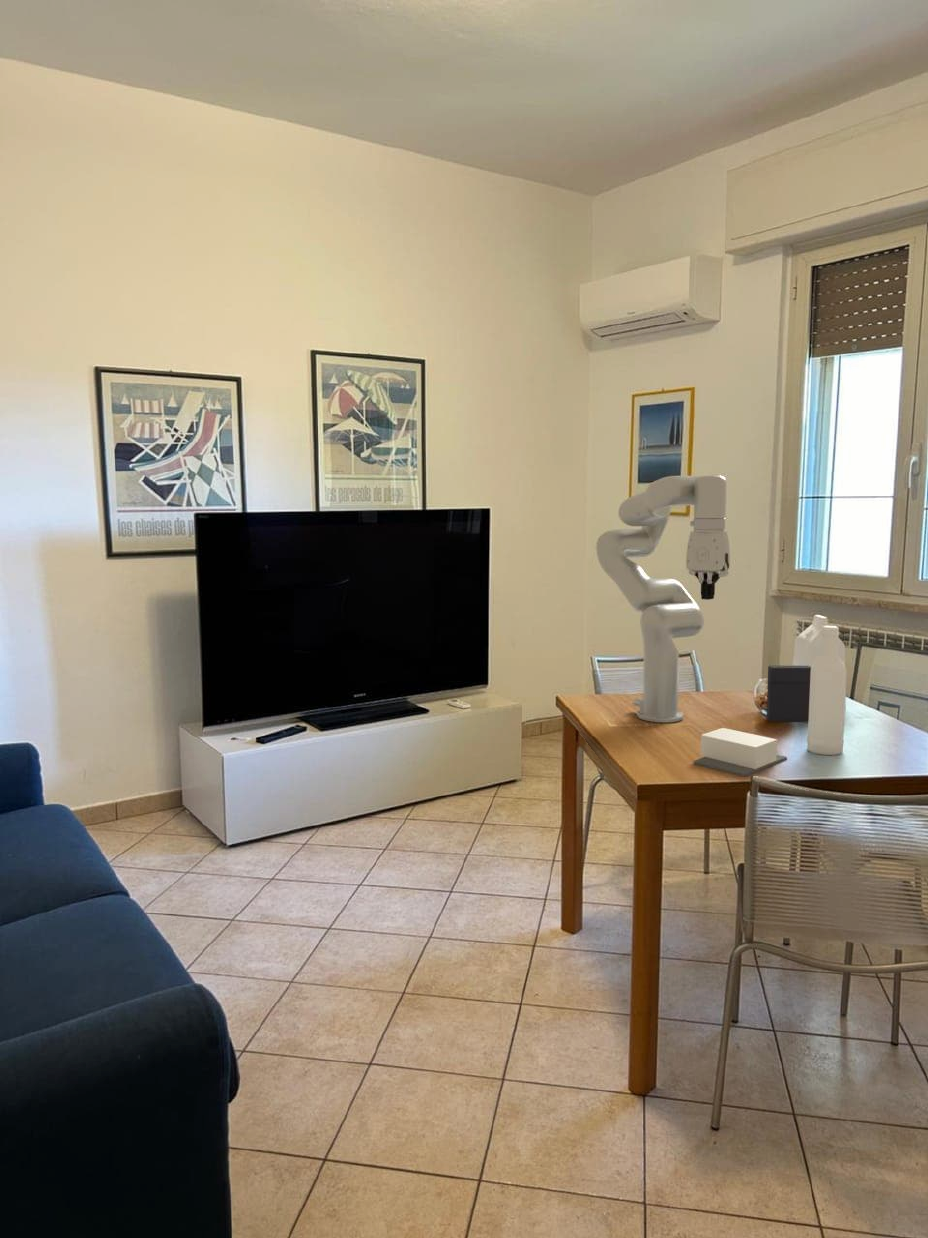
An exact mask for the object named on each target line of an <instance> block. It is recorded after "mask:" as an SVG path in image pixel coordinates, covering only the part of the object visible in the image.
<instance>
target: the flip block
mask: <svg viewBox="0 0 928 1238" xmlns="http://www.w3.org/2000/svg"><path fill="white" fill-rule="evenodd" d="M777 747H778V739H777V738H772V737H768V736H763V735H758V734H753V733H749V732H744V731H739V730H735V729H730V728H725V727H721V728H718V729H715V730H712V731H708V732H705V733H703V734H700V757H708V758H712V759H716V760H720V761H724V762H728V763H732V764H736V765H740V766H744V767H748V768H752V769H757V768H760V767H762V766H765V765H767V764H769V763H772V762H774V761H776V755H778V754H777V751H778V749H777Z"/></svg>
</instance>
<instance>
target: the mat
mask: <svg viewBox="0 0 928 1238" xmlns="http://www.w3.org/2000/svg"><path fill="white" fill-rule="evenodd" d="M787 758H788V757H787V756H783V755H779V754H777V755H776V761H774V762H772V763H769V764H767V765H765V766H762V767H760V768H757V769H752V768H748V767H744V766H740V765H736V764H732V763H728V762H724V761H720V760H716V759H712V758H708V757H704V756H702V757H701V758H698V759H695V760H693V764H694V765H697V766H703V767H704V768H705V767H706V768H710V769H714V770H717V771H721V772H725V773H730V774H732V775H736V776H740V777H748V776H749V775H752V774H755V773H757V772H759V771H761V770H764V769H766V768H770V767H772V766H775V765H776V764H779V763H782V762H784V761H786V760H787Z"/></svg>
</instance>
